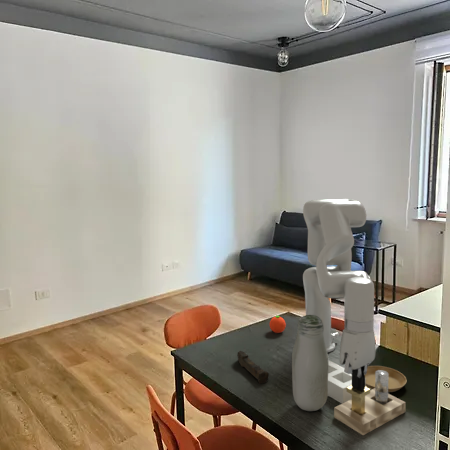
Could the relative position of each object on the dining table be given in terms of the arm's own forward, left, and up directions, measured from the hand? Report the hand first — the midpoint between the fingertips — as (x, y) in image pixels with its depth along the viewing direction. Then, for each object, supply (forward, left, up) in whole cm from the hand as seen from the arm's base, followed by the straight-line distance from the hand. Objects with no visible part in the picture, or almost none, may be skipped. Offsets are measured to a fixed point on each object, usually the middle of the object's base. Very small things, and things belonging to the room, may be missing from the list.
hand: (358, 387), depth 117 cm
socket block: (-5, 0, -10) cm, 11 cm away
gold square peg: (0, 0, -9) cm, 9 cm away
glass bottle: (+6, -12, -10) cm, 17 cm away
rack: (-8, -16, -10) cm, 20 cm away
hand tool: (+7, -41, -10) cm, 43 cm away
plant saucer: (-22, -9, -10) cm, 26 cm away
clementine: (-23, -62, -10) cm, 67 cm away
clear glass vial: (-10, 0, -10) cm, 14 cm away
